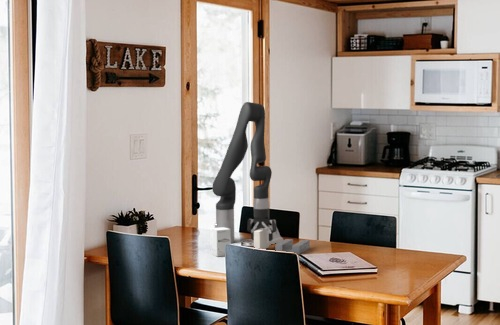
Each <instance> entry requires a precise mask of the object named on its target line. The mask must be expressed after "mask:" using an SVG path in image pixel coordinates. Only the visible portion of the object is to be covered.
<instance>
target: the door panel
mask: <svg viewBox="0 0 500 325" xmlns="http://www.w3.org/2000/svg"><path fill="white" fill-rule="evenodd" d="M269 246H270V245H269V241H268V230H266V228H264V229H263V228H261V229H260V228H257V229H256V230H255V231H254V240H253V248H254V247H255V248H262V249H266V248H268V249H269ZM266 250H267V249H266Z"/></svg>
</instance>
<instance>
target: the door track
mask: <svg viewBox="0 0 500 325" xmlns="http://www.w3.org/2000/svg"><path fill="white" fill-rule="evenodd" d="M310 242H311V241H310V240H309V239H301V240H300V241H298V242H296V243H294V239H292V238H285V239H283V241H281V242H279V243H276V244H274V245H275V246H274V248H275V249H274V251H275V250H278V251H286V252H294V253H297V254H296V255H301V254H303V253H304V252H306V251H308V250H310V249H311V248H310V247H311V246H310Z"/></svg>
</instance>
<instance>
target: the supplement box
mask: <svg viewBox="0 0 500 325" xmlns="http://www.w3.org/2000/svg"><path fill="white" fill-rule="evenodd" d="M209 229H210V233H209V234H210V235H209V236H210V237H209V238H210V255H211V256H214V257H226V256H225V245H226V244H232V243H231V241H230V229H229V228H225V227H221V228H215V227H211V228H209Z"/></svg>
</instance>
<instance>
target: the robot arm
mask: <svg viewBox="0 0 500 325" xmlns="http://www.w3.org/2000/svg"><path fill="white" fill-rule="evenodd" d="M250 122H253V123H254V126H255V131H254V134H253V136H252V139H251V141H250V158H251V162H250V164H251V165H250V170H249V178H250V180H251V181H254V182H260V181H261V182H262V183H261V184H260V185H256V186H254V187H253V219H252V218H248V219H247V229H246V231H247V232H248V233H250V234H251V235H250V237H251V240H252V241H254V231H256V230H258V229H260V228H263V229H264V228H266V230H268V232H269V241H272V240H273V233H274V232H276V231H277V229H278V227H277V220H276V219H270V201H269V188H270V182H271V179H272V168H271V167H270V166H268V165H261V166H260V165H259V166H258V164H260V163H263V162H265V161H266V159H267V155H266V146H265V145H266V144H265V129H266V127H265V126H266V110H265V107H264V105H263V104H260V103H256V102H251V101H247V102H244V103H243V105H241V108H240V111H239V114H238V116H237V121H236V125H235V129H234V131H233V134H232V137H231V140H230V142H229V145H228V146H227V149H226V153H225V156H224V159H223V161H222V163H221V166H220V168H219V170H218V172H217V174H216V176H215V178H214V181H213V183H212V186H211V187H212V193H213V194H214V195H215V196H216V197H220V198H219V201H217V202H216V203H215V220H216V221H215V223H214V228H221V227H225V228H229V229H230V241H231V244H232V243H235V204H236V195H237V194H236V191H237V190H236V189H237V188H236V182H235V180H234V179H233V178H232V175H233V173H234V172H235V171H236V169H237V168H238V167H239V166H240V164H241V163H242V162H243V160H244V158H245V155H246V153H247V152H248V148H249V143H248V142H249V141H248V137H247V128H248V124H249V123H250ZM253 223H254V225H253V227H252V224H253ZM270 224H271V226H272V229H273V230H272V229H271V227H270ZM268 226H269V227H268ZM276 227H277V228H276Z"/></svg>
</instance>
